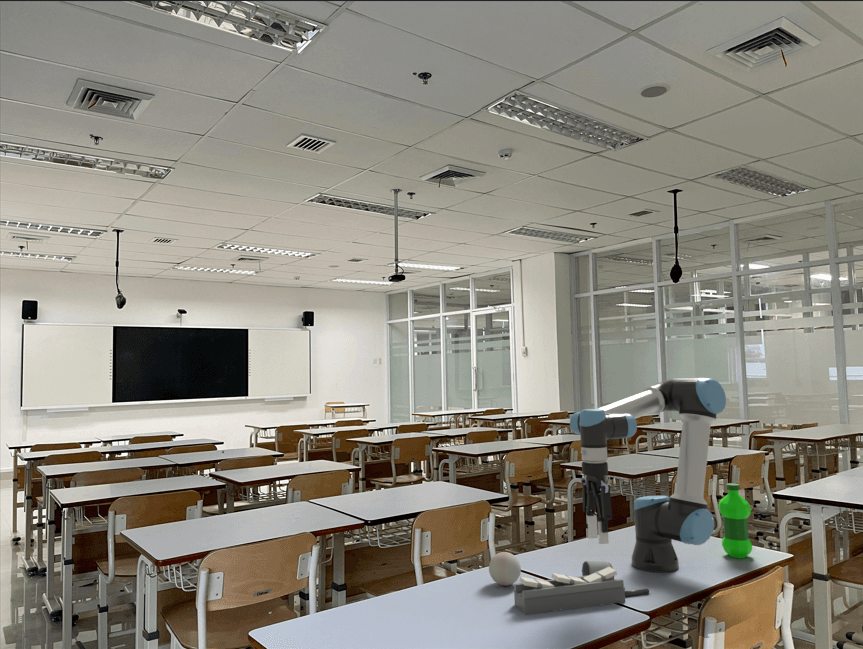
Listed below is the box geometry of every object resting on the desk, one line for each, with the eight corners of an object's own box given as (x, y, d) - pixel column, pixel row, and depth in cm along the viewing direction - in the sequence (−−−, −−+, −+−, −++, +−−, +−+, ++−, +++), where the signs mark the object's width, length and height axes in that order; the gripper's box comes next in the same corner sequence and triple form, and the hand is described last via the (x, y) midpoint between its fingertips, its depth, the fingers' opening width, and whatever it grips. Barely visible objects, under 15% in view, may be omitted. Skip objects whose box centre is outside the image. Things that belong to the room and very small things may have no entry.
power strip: (640, 589, 193) (639, 568, 193) (655, 597, 185) (654, 576, 185) (514, 604, 183) (513, 583, 183) (525, 614, 175) (524, 592, 175)
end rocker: (547, 586, 184) (548, 581, 184) (553, 591, 179) (554, 586, 180) (519, 581, 182) (520, 576, 182) (525, 585, 177) (526, 580, 178)
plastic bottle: (724, 550, 230) (720, 481, 232) (756, 554, 224) (751, 483, 226) (718, 557, 222) (713, 485, 224) (751, 561, 216) (746, 487, 218)
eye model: (491, 579, 206) (490, 547, 207) (522, 580, 204) (521, 548, 205) (487, 589, 196) (486, 556, 197) (520, 590, 194) (519, 557, 195)
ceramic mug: (616, 588, 194) (615, 562, 195) (591, 590, 192) (590, 564, 193) (601, 578, 204) (600, 553, 205) (577, 580, 203) (576, 555, 204)
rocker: (610, 570, 189) (608, 566, 189) (617, 575, 184) (616, 570, 184) (583, 581, 186) (582, 577, 186) (591, 586, 182) (589, 581, 182)
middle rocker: (578, 582, 186) (579, 577, 186) (585, 587, 182) (586, 582, 182) (551, 577, 184) (552, 572, 184) (557, 582, 180) (558, 577, 180)
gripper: (568, 458, 196) (572, 534, 194) (598, 466, 178) (602, 550, 176) (590, 456, 198) (594, 532, 196) (622, 464, 180) (626, 547, 178)
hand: (598, 540), depth 186 cm, fingers open, 6 cm apart
